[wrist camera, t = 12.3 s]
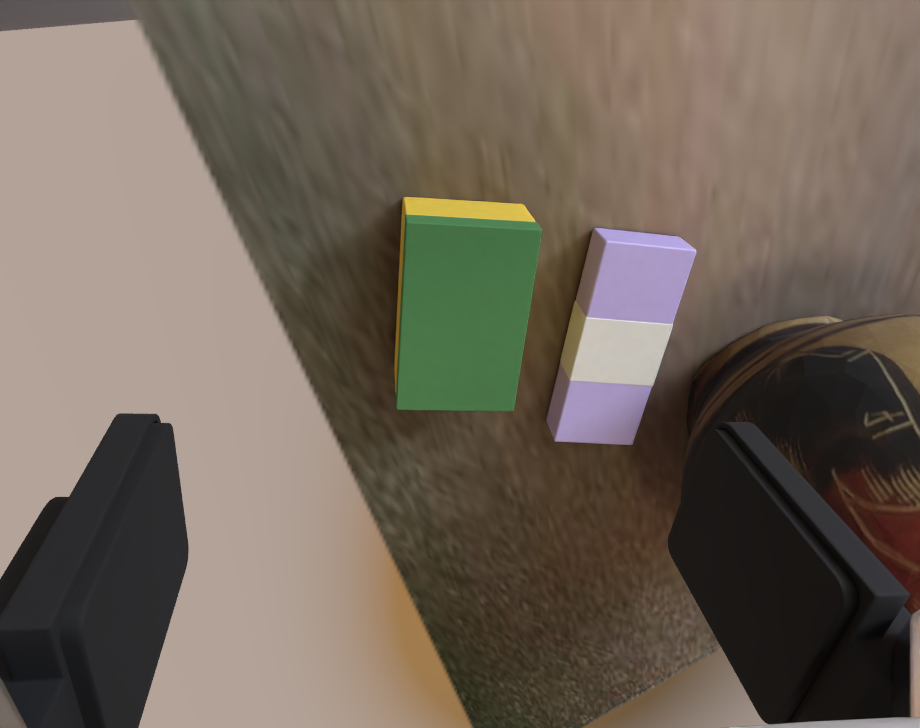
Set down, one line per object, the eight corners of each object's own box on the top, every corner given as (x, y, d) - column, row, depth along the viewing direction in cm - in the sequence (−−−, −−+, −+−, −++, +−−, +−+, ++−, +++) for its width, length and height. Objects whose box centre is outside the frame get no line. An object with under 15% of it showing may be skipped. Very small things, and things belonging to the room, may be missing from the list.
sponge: (402, 196, 26) (406, 221, 23) (523, 203, 26) (542, 230, 23) (394, 368, 30) (396, 410, 27) (500, 371, 30) (513, 412, 27)
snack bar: (621, 424, 33) (633, 446, 31) (545, 420, 32) (553, 442, 31) (680, 236, 28) (698, 250, 26) (592, 226, 27) (605, 241, 26)
